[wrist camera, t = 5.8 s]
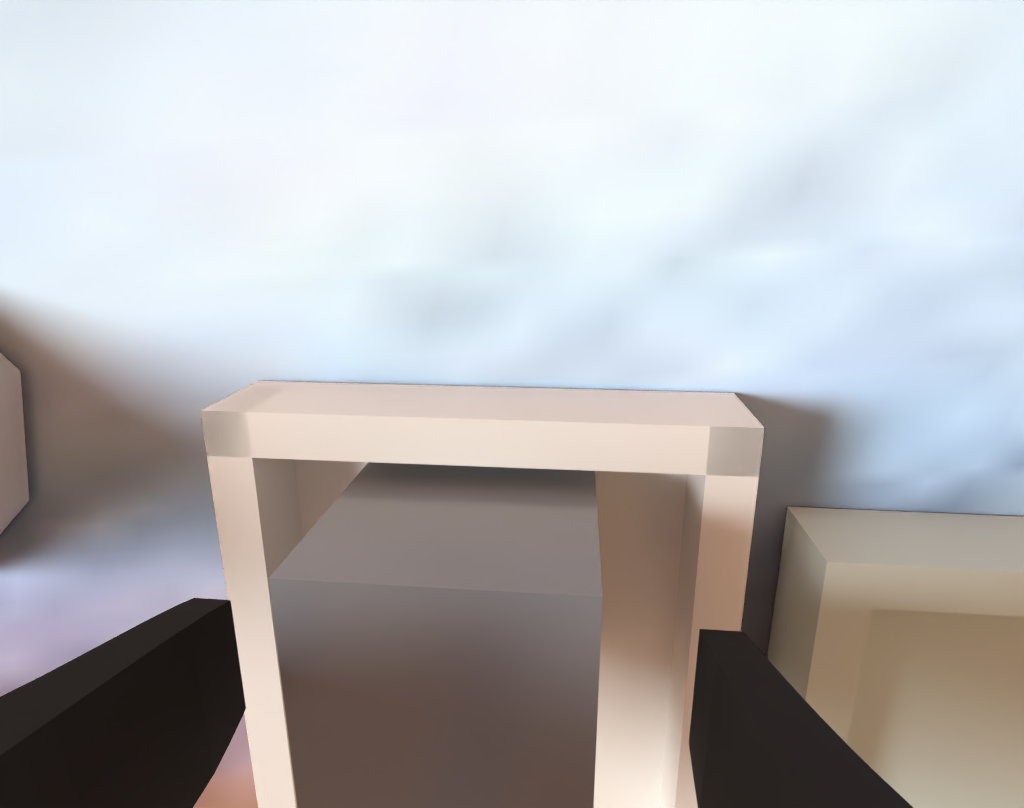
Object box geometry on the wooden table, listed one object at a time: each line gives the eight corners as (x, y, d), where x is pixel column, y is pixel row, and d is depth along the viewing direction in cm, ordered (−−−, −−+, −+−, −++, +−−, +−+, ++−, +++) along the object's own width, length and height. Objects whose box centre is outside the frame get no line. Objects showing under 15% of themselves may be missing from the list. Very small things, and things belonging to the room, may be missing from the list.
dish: (679, 916, 15) (694, 1017, 13) (317, 878, 16) (281, 967, 14) (733, 392, 11) (764, 427, 10) (258, 380, 12) (199, 410, 10)
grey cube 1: (586, 642, 13) (591, 860, 8) (391, 630, 13) (300, 832, 9) (593, 455, 12) (601, 597, 7) (380, 447, 12) (268, 578, 8)
